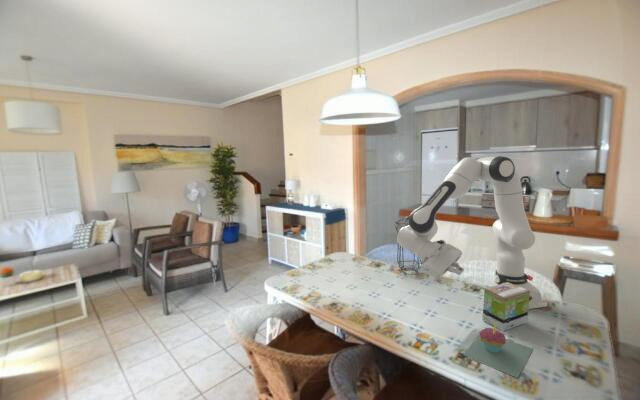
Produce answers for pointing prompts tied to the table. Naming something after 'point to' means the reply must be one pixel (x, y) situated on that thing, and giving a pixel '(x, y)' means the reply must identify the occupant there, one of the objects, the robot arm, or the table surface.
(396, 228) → the geometric lantern
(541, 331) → the table surface
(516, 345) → the mat
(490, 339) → the cupcake
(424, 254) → the robot arm
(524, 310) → the tea box
